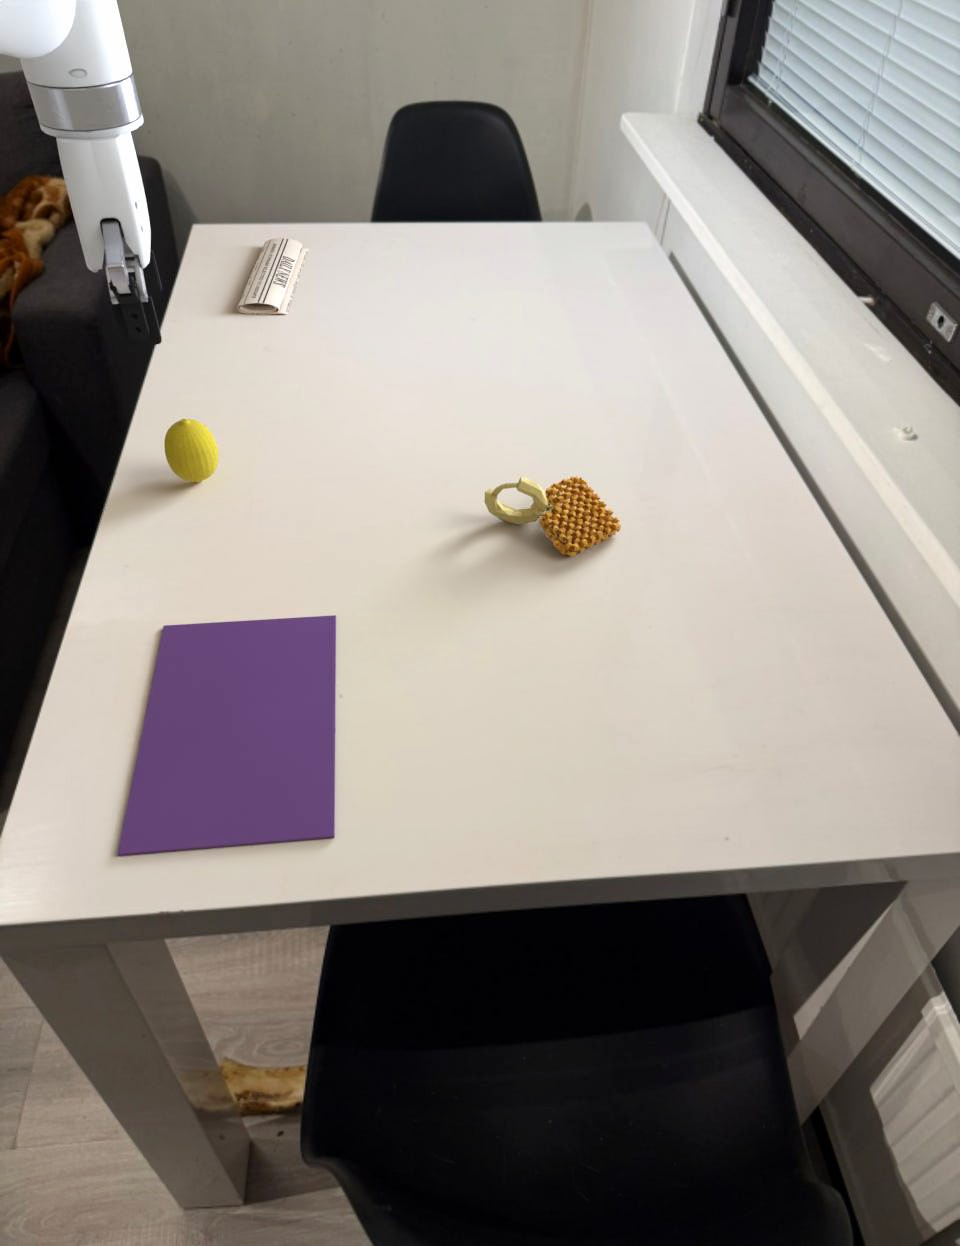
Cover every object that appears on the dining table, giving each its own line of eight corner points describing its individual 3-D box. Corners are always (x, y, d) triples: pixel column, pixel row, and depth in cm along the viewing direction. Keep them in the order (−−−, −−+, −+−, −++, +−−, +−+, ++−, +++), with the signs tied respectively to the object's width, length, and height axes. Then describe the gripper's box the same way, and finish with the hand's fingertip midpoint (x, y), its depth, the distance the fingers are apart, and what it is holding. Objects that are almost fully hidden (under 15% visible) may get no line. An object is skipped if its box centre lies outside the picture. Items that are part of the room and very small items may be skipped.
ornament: (634, 470, 92) (499, 434, 91) (628, 548, 87) (484, 511, 85) (613, 509, 98) (485, 475, 96) (606, 584, 92) (470, 550, 91)
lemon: (218, 497, 96) (203, 435, 90) (168, 495, 95) (150, 433, 90) (229, 467, 99) (215, 406, 94) (181, 466, 99) (164, 405, 94)
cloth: (334, 838, 66) (334, 836, 66) (118, 856, 65) (117, 854, 64) (336, 617, 83) (335, 615, 83) (164, 627, 81) (163, 625, 81)
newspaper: (266, 248, 143) (264, 237, 142) (309, 249, 143) (307, 238, 142) (238, 314, 126) (236, 302, 125) (287, 315, 126) (285, 303, 125)
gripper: (45, 74, 71) (105, 280, 83) (21, 141, 59) (94, 370, 71) (141, 71, 72) (186, 274, 84) (136, 136, 60) (189, 361, 73)
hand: (144, 318), depth 78 cm, fingers open, 9 cm apart
